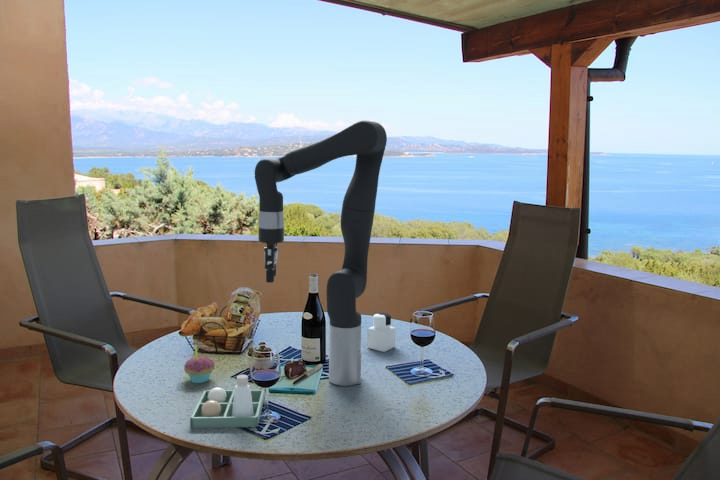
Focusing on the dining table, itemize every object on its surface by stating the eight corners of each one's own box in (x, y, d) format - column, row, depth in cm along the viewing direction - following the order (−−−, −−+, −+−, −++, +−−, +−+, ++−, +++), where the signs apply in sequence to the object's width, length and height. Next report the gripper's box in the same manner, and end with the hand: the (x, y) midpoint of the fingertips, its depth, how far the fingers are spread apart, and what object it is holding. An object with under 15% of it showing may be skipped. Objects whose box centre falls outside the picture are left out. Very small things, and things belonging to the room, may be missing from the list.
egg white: (228, 401, 144) (227, 384, 144) (225, 409, 140) (224, 391, 139) (209, 401, 144) (209, 384, 143) (205, 409, 139) (205, 392, 139)
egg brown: (223, 414, 137) (222, 396, 136) (219, 423, 132) (219, 405, 131) (203, 414, 137) (203, 396, 136) (199, 424, 132) (198, 405, 131)
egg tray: (264, 400, 147) (264, 389, 146) (257, 429, 131) (257, 417, 131) (204, 400, 146) (204, 390, 145) (190, 430, 130) (190, 418, 130)
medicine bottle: (378, 342, 195) (379, 310, 193) (395, 346, 191) (396, 313, 189) (367, 347, 189) (367, 314, 187) (384, 352, 185) (385, 318, 183)
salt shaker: (241, 411, 139) (241, 370, 137) (258, 416, 136) (258, 374, 135) (226, 420, 134) (226, 377, 132) (244, 425, 131) (243, 382, 130)
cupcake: (206, 388, 153) (205, 347, 152) (178, 385, 155) (177, 345, 153) (219, 377, 162) (219, 338, 160) (193, 374, 163) (192, 335, 162)
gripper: (282, 229, 157) (282, 284, 159) (285, 223, 171) (284, 274, 173) (256, 229, 156) (256, 284, 159) (260, 223, 170) (260, 274, 173)
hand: (271, 279), depth 166 cm, fingers open, 8 cm apart
